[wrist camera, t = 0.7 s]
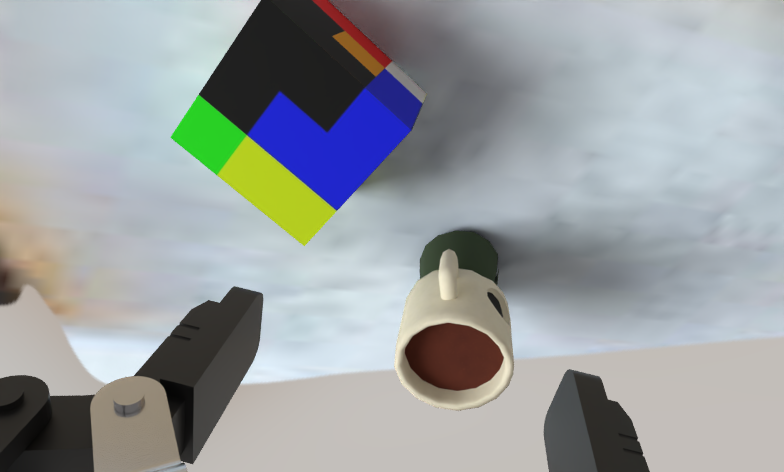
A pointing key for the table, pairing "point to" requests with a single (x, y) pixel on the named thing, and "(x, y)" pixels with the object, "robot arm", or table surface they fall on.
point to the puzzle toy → (299, 113)
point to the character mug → (456, 326)
